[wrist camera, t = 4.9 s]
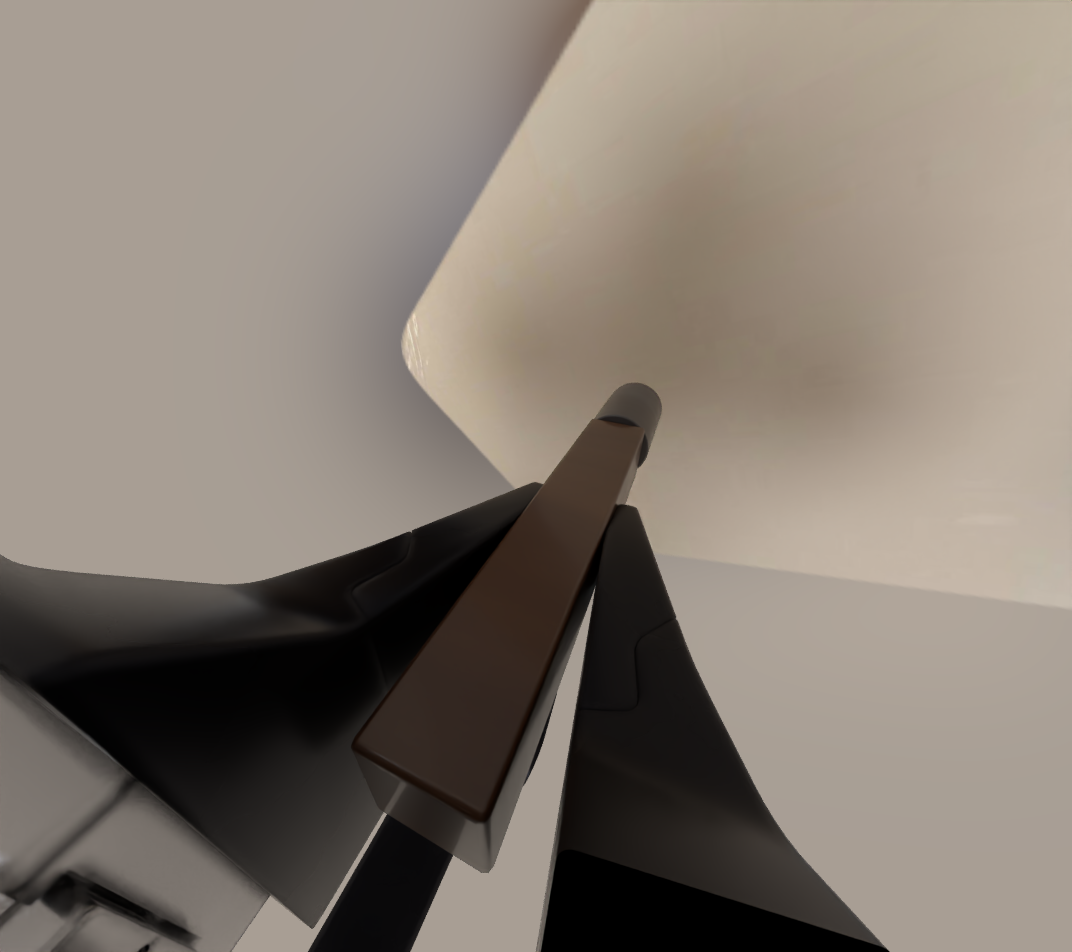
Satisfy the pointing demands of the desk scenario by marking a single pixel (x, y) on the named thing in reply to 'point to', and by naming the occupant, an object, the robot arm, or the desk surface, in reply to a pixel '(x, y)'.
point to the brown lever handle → (504, 650)
